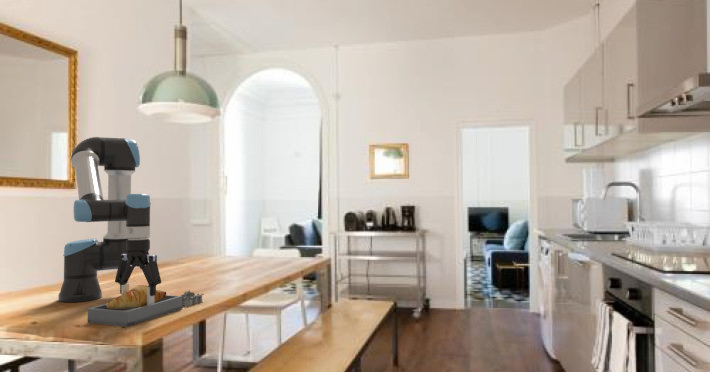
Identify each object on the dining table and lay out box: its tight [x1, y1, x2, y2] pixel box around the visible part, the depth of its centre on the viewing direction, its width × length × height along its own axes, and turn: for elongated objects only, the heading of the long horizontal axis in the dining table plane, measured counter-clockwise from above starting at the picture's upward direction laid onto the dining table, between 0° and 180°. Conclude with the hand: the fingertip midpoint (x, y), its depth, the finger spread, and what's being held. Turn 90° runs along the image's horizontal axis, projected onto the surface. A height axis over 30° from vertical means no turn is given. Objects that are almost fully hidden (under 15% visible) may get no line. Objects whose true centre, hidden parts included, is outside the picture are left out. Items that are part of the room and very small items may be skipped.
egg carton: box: [180, 289, 205, 307], centre depth 187 cm, size 11×8×4 cm
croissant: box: [105, 284, 167, 309], centre depth 167 cm, size 21×10×8 cm, turn 145°
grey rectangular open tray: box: [87, 294, 183, 327], centre depth 167 cm, size 16×26×4 cm, turn 161°
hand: (137, 304), depth 167 cm, fingers closed on croissant, 10 cm apart
